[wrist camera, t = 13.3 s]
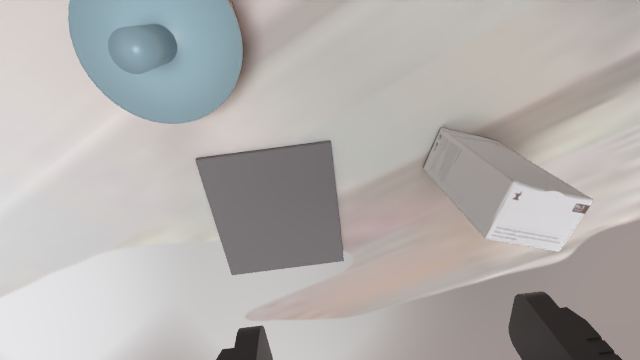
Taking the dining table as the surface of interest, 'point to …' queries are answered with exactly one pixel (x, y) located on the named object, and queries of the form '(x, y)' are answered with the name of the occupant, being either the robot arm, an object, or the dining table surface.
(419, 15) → the dining table surface
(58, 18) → the dining table surface
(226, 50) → the lid
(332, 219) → the mat
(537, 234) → the skincare box
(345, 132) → the dining table surface
